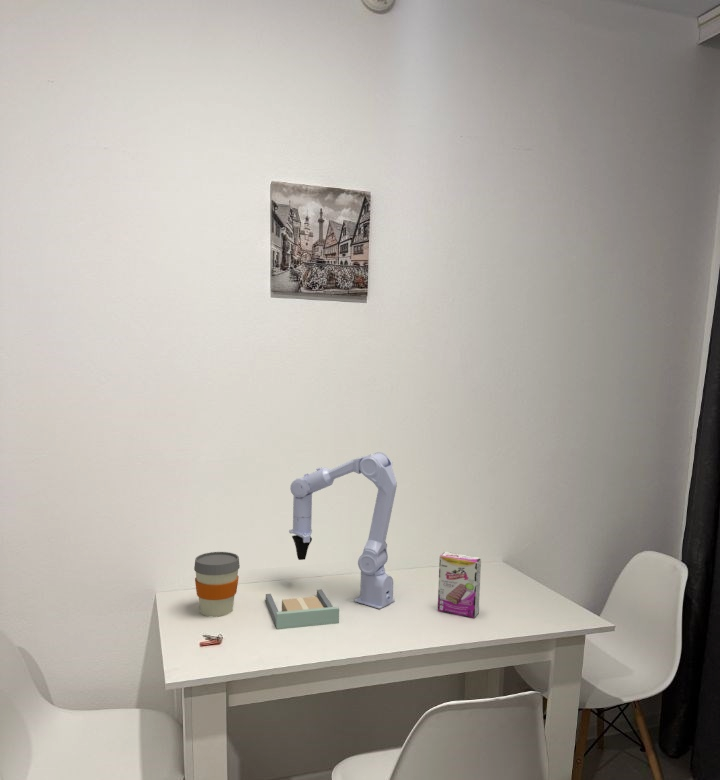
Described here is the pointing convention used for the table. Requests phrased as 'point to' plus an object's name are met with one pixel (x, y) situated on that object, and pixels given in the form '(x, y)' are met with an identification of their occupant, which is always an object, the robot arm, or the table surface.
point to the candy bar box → (459, 584)
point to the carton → (301, 604)
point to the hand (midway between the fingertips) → (301, 559)
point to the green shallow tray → (304, 614)
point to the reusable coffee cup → (216, 582)
